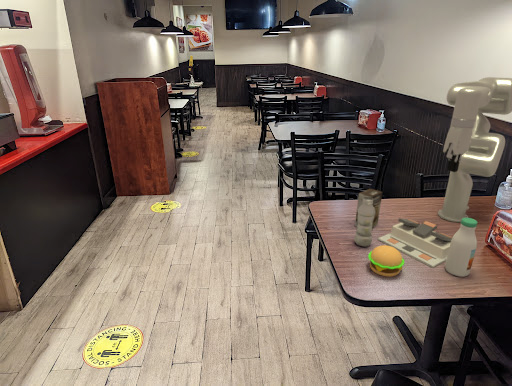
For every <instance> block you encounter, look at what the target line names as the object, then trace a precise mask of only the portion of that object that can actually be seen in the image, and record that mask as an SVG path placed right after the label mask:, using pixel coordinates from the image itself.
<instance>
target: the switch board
mask: <svg viewBox="0 0 512 386" xmlns="http://www.w3.org/2000/svg"><path fill="white" fill-rule="evenodd" d="M417 227H418V226H408V225H406V224H404V223H401V222H398V223H396V224H394V225H392V227H391V230H390V231H391V232H389V233H387V234H385V235H382V236H380V237H378V238H377V241H379V242H381V243H383V244H384V245H387V246H391V247H394V248H395V249H397V250H398V251H399V252H400V253H401V254H404V255H407V256H408V257H410V258H412V259H414V260H415V261H418V262H420V263H422V264H424V265H426V266H428V267H430V268H432V269H433V268H436V267H438V266H439V265H441V264H443V263H446V259H447V255H448V251H449V247H450V243H451V241H445V240H441V239H439V238H437V237H434V236H432V235H430V234H431V233H430V234H429V235H428V236H426V237H425V238H423V237H421V236H419V235H417V234H414V233H413V230H414V229H415V228H417ZM433 232H435V230H434V231H433Z"/></svg>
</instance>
